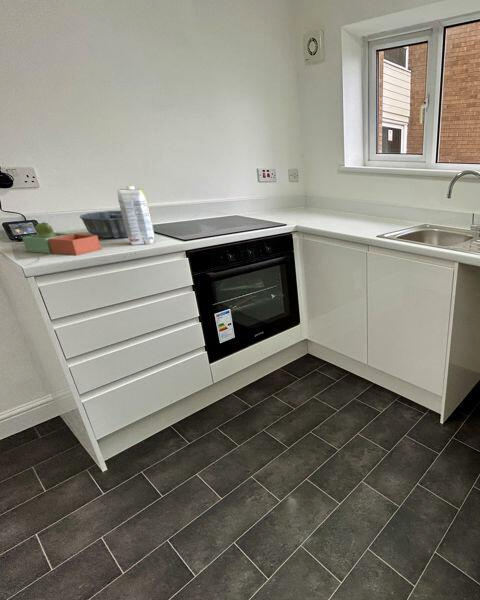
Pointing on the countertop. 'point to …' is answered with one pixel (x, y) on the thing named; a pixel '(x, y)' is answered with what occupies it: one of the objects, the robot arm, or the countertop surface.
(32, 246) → the green bin
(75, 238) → the terracotta bin
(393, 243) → the countertop surface
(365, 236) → the countertop surface
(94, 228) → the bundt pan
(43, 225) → the pear
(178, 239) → the countertop surface
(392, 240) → the countertop surface
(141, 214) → the juice carton
